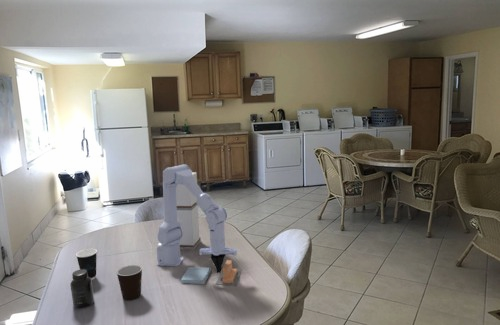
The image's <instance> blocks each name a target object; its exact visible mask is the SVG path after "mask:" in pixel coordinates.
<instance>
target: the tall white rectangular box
mask: <svg viewBox="0 0 500 325" xmlns="http://www.w3.org/2000/svg"><path fill="white" fill-rule="evenodd" d="M197 175H198V174H197V172H196V171H195V172H193V171H192V177H193V178H194V180H195V181H196V182H197V183H198V176H197ZM196 200H197V198H196V197H195V196H194V195H193V194H192V193H191V192H190V190H189V189H188V188H187V187H186V186H185V185H181V184H178V185H177V186H176V203H177V221H178V222H179V223H181V228H182V231H183V236H182V238H181V241H180V250H193V251H194V250H196V248H197V247H198V246H199V244H200V243H201V241H202V240H201V236H200V222H199V218H200V217H199V208H200V207H199V206H198V204H197V203H196Z"/></svg>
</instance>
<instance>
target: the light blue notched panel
mask: <svg viewBox="0 0 500 325" xmlns="http://www.w3.org/2000/svg"><path fill="white" fill-rule="evenodd" d="M211 272H212V269H211V267H201V266H200V267H193V266H190V267H188V269H187V270H186V272H185V273H184V275H183V276H182V278H181V279H180V281H181V284H201V285H203V284H205V283H206V281H207V279H208V278H209V276H210V273H211Z"/></svg>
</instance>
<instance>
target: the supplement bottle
mask: <svg viewBox="0 0 500 325" xmlns="http://www.w3.org/2000/svg"><path fill="white" fill-rule="evenodd" d="M71 276H72V280H71V281H70V291H71V299H72V300H71V301H72V305H73V308H76V309H77V310H80V309H85V308H88V307H90V306H92V305H93V304H94V302H95V298H94V290H93V289H94V288H93V280H91V278H90V277H88V274H87V270H85V269H81V270H80V269H77V270H74V271H73V272H72V275H71Z"/></svg>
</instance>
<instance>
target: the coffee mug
mask: <svg viewBox="0 0 500 325" xmlns="http://www.w3.org/2000/svg"><path fill="white" fill-rule="evenodd" d="M142 274H143V268H142V266H141V265H137V264H132V265H131V264H130V265H127V266H123V267H121V268H119V269H118V270H117V271H116V275H117V280H118V284H119V288H120V293H121V297H122V300H124V301H128V302H129V301H135V300H137V299H139V298H140V297H141V296H142V281H143V280H142V276H143V275H142Z"/></svg>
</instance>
